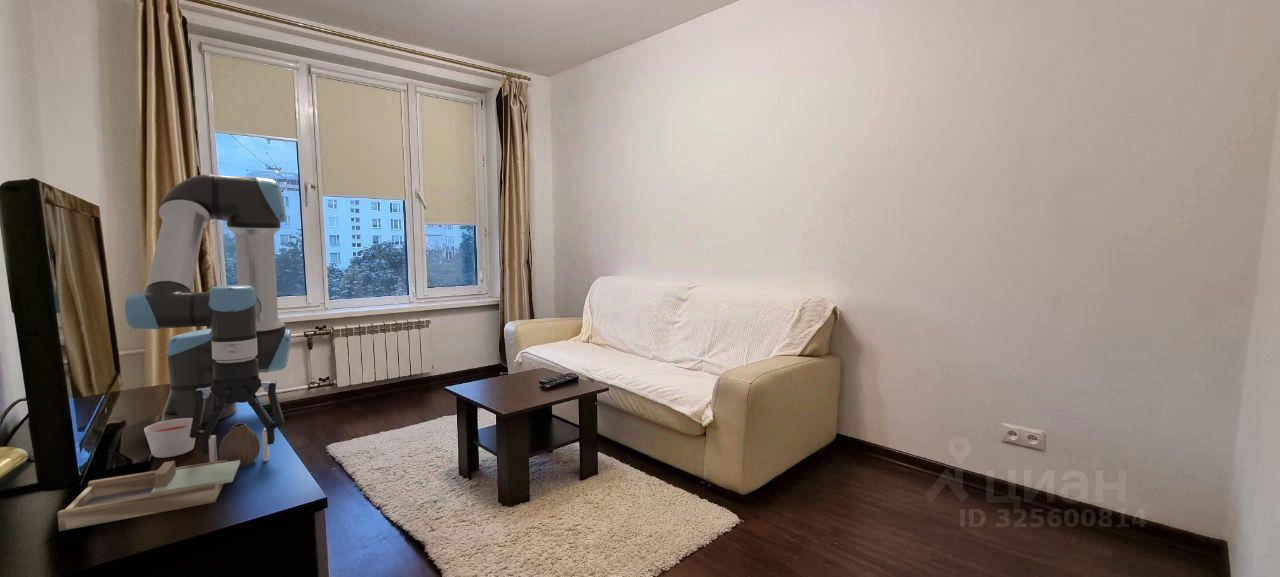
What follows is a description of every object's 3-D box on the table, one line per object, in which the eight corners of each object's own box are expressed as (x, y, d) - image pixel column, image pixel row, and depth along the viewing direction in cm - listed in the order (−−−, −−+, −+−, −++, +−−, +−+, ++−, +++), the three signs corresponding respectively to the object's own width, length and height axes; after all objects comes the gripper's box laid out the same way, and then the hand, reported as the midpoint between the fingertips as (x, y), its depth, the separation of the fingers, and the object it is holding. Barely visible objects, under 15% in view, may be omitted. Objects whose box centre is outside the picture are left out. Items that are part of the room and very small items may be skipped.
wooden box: (91, 496, 95) (90, 480, 95) (228, 474, 105) (227, 459, 105) (58, 531, 84) (57, 513, 84) (215, 502, 94) (214, 485, 94)
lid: (166, 474, 99) (165, 459, 99) (240, 462, 105) (239, 448, 105) (150, 495, 91) (149, 479, 91) (232, 481, 97) (231, 466, 96)
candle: (137, 463, 110) (135, 434, 109) (156, 447, 118) (154, 420, 117) (191, 456, 113) (189, 428, 113) (205, 442, 122) (204, 416, 121)
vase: (238, 473, 106) (236, 432, 105) (211, 469, 107) (209, 429, 107) (268, 459, 113) (267, 420, 112) (242, 456, 114) (241, 418, 113)
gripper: (163, 368, 99) (170, 480, 101) (294, 357, 110) (298, 459, 112) (174, 360, 106) (180, 466, 108) (296, 351, 117) (300, 447, 118)
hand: (240, 462), depth 110 cm, fingers open, 8 cm apart
